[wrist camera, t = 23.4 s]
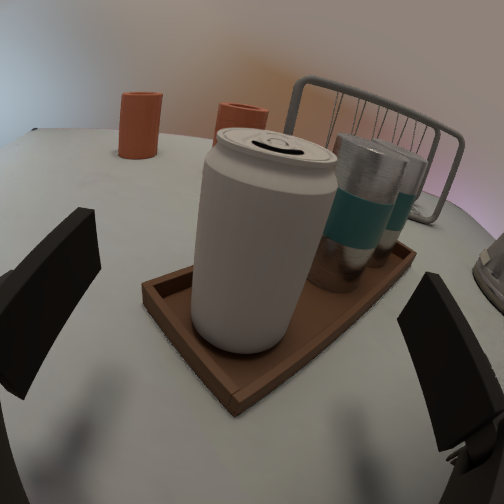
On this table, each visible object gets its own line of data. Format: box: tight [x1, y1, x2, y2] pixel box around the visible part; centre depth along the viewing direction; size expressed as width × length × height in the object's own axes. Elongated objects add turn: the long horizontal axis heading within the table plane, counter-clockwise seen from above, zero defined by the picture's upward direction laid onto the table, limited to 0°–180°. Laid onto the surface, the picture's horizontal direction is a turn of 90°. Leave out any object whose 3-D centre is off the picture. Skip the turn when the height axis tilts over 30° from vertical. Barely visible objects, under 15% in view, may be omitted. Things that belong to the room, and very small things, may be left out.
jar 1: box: [118, 92, 163, 159], centre depth 43 cm, size 7×7×11 cm
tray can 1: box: [307, 133, 410, 293], centre depth 23 cm, size 6×6×12 cm
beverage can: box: [191, 128, 338, 354], centre depth 16 cm, size 6×6×12 cm
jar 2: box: [212, 102, 269, 148], centre depth 40 cm, size 7×7×11 cm
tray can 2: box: [368, 138, 428, 268], centre depth 27 cm, size 6×6×12 cm
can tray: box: [141, 240, 417, 417], centre depth 25 cm, size 10×27×2 cm, turn 132°
